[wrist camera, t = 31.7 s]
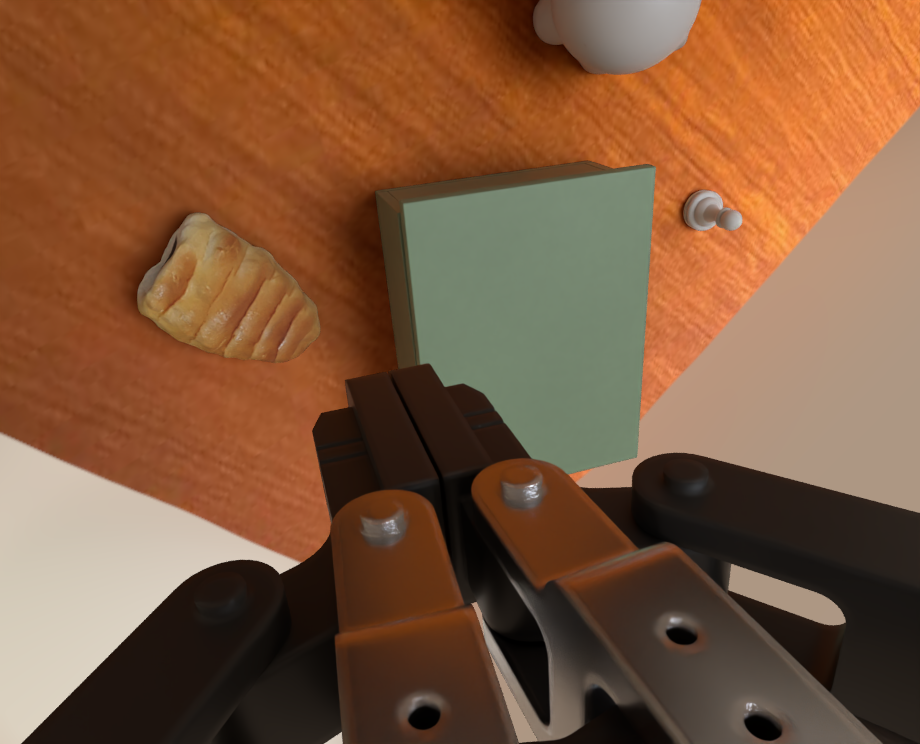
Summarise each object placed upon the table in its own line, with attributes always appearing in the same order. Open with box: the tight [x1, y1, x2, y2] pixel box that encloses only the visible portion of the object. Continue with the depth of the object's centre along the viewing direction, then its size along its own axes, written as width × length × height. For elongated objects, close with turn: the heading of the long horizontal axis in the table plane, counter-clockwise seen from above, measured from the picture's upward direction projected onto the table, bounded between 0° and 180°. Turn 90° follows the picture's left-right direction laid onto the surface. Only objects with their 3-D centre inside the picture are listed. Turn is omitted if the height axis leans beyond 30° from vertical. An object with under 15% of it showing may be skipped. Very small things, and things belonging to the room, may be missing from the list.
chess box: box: [375, 161, 613, 369], centre depth 42 cm, size 17×13×6 cm
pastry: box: [137, 213, 320, 363], centre depth 38 cm, size 9×7×4 cm
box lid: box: [399, 164, 656, 474], centre depth 39 cm, size 18×13×1 cm
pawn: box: [683, 190, 742, 231], centre depth 44 cm, size 3×3×4 cm
